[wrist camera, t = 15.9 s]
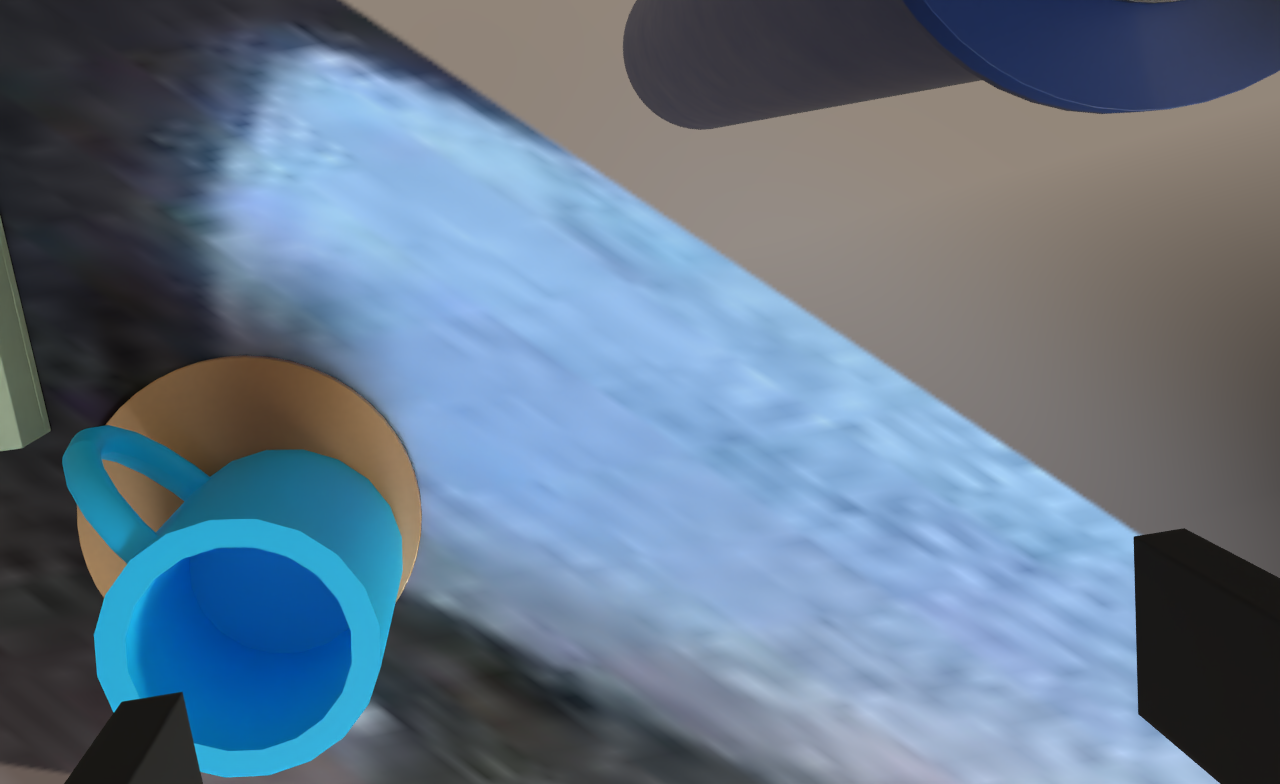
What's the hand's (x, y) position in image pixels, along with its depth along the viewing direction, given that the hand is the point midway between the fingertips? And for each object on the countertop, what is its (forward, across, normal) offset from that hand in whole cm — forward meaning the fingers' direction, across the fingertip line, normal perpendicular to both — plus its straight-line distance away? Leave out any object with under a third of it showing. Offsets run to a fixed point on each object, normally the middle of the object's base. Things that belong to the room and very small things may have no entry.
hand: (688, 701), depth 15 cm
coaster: (+27, -12, -4) cm, 30 cm away
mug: (+26, -12, -4) cm, 29 cm away
